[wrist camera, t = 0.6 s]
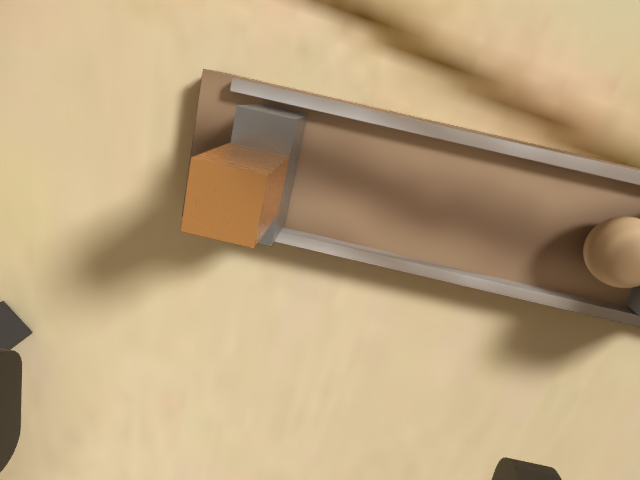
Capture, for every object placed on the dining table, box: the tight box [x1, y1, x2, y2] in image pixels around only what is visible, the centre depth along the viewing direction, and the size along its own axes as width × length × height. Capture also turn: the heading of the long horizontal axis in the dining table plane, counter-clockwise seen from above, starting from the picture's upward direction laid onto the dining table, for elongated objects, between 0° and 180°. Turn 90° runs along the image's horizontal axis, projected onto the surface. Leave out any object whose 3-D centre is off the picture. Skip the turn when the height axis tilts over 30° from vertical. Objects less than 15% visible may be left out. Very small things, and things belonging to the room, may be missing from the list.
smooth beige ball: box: [583, 216, 640, 288], centre depth 28 cm, size 4×4×4 cm
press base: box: [182, 69, 640, 327], centre depth 28 cm, size 9×34×8 cm, turn 78°
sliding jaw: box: [181, 104, 308, 248], centre depth 25 cm, size 7×3×11 cm, turn 168°
